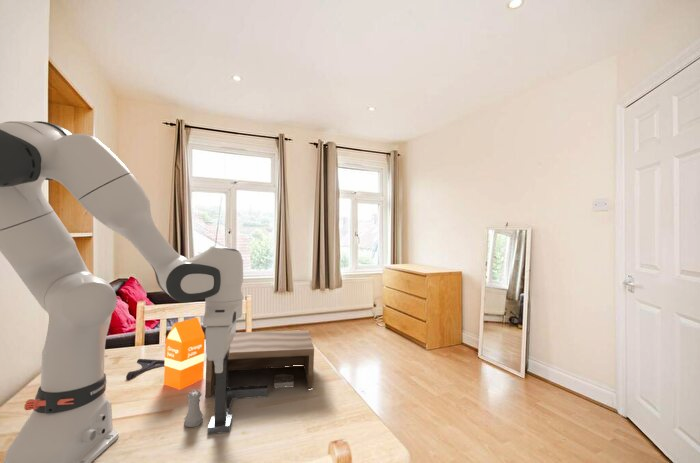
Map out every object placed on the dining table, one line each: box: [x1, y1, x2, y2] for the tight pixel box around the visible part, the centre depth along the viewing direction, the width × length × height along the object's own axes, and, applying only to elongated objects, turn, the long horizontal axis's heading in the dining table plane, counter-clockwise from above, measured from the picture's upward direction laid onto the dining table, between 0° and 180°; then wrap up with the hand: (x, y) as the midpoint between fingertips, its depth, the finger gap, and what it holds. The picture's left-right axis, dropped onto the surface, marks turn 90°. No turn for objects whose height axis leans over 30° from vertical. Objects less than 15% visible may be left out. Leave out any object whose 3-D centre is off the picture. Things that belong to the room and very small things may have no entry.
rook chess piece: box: [183, 389, 204, 428], centre depth 83 cm, size 4×4×8 cm
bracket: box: [125, 358, 165, 381], centre depth 113 cm, size 14×15×3 cm
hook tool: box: [207, 351, 269, 435], centre depth 89 cm, size 18×14×20 cm
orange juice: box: [163, 317, 206, 390], centre depth 106 cm, size 8×9×20 cm
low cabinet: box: [204, 329, 315, 398], centre depth 109 cm, size 20×32×13 cm, turn 102°
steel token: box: [273, 373, 294, 388], centre depth 107 cm, size 6×6×2 cm
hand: (222, 364), depth 82 cm, fingers open, 7 cm apart
